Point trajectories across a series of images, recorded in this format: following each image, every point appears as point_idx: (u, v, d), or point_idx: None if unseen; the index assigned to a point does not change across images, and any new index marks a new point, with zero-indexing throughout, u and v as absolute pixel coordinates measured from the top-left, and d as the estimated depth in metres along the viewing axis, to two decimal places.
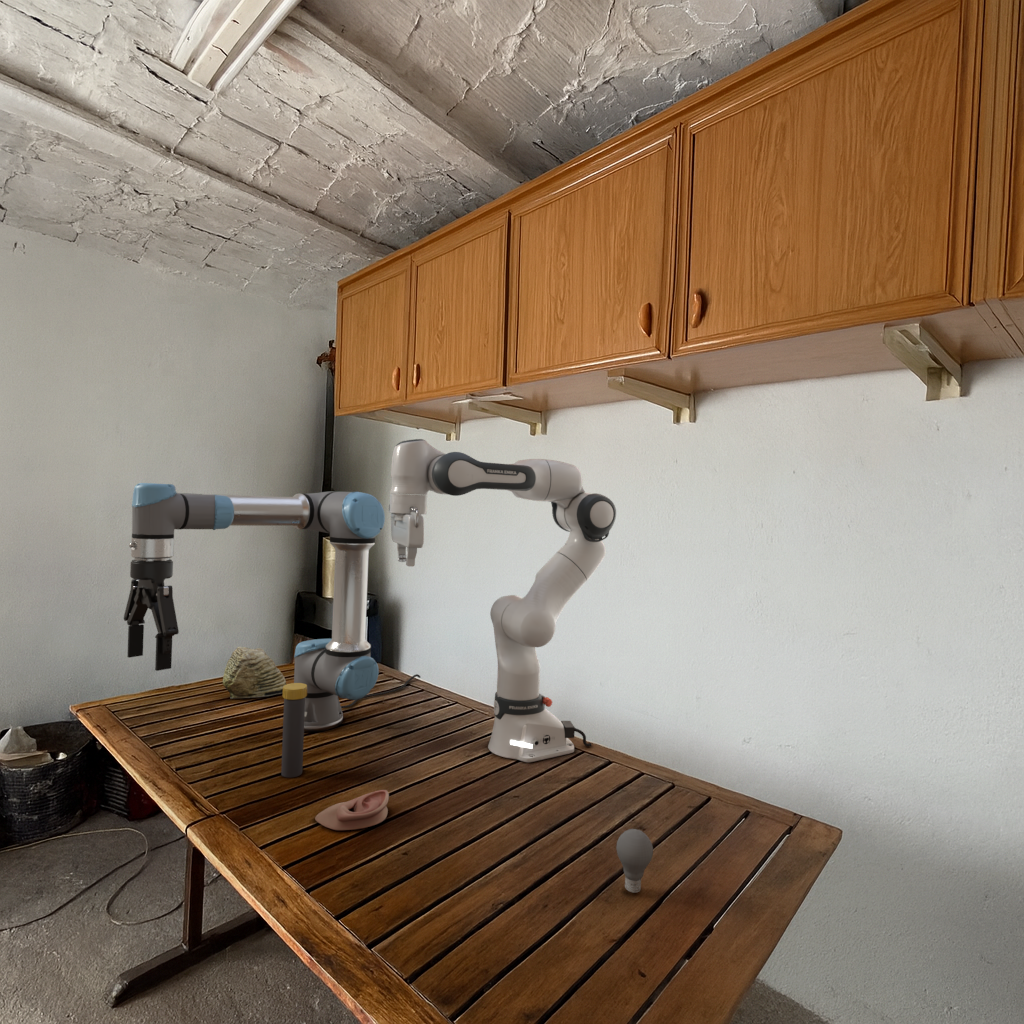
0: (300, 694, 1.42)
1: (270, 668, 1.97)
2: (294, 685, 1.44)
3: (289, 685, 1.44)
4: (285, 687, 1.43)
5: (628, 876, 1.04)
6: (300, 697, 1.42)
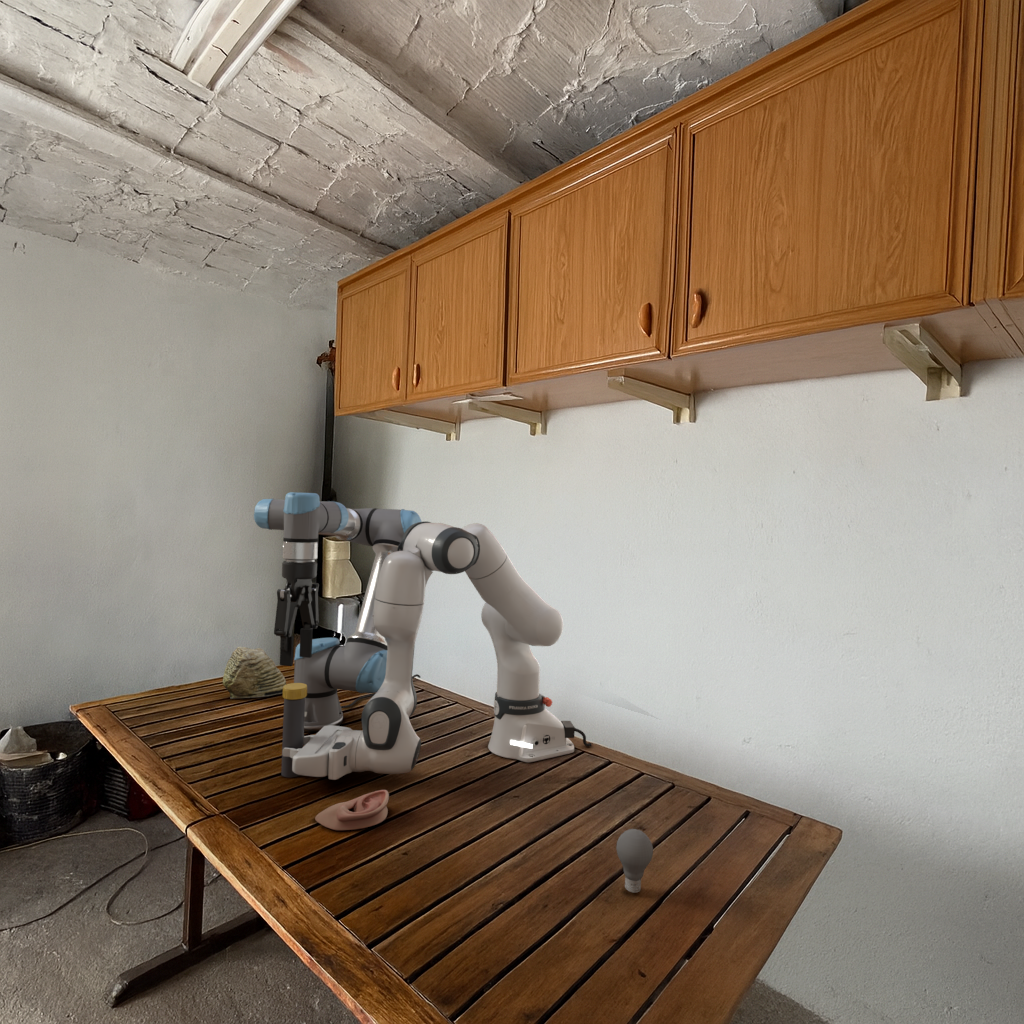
0: (300, 694, 1.42)
1: (270, 668, 1.97)
2: (294, 685, 1.44)
3: (289, 685, 1.44)
4: (285, 687, 1.43)
5: (628, 876, 1.04)
6: (300, 697, 1.42)
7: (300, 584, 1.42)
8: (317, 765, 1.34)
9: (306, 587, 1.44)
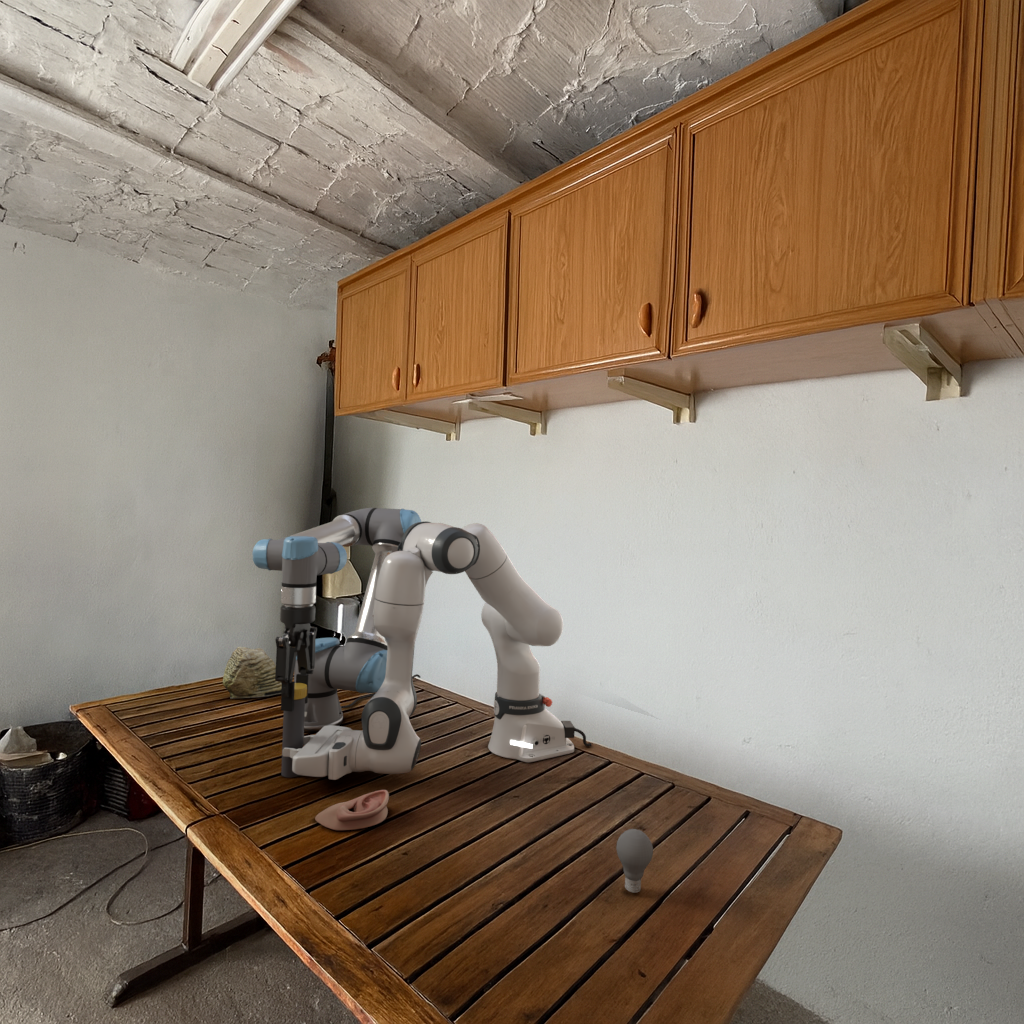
0: (300, 694, 1.42)
1: (270, 668, 1.97)
2: None
3: None
4: None
5: (628, 876, 1.04)
6: (300, 697, 1.42)
7: (298, 629, 1.42)
8: (317, 765, 1.34)
9: (304, 631, 1.44)
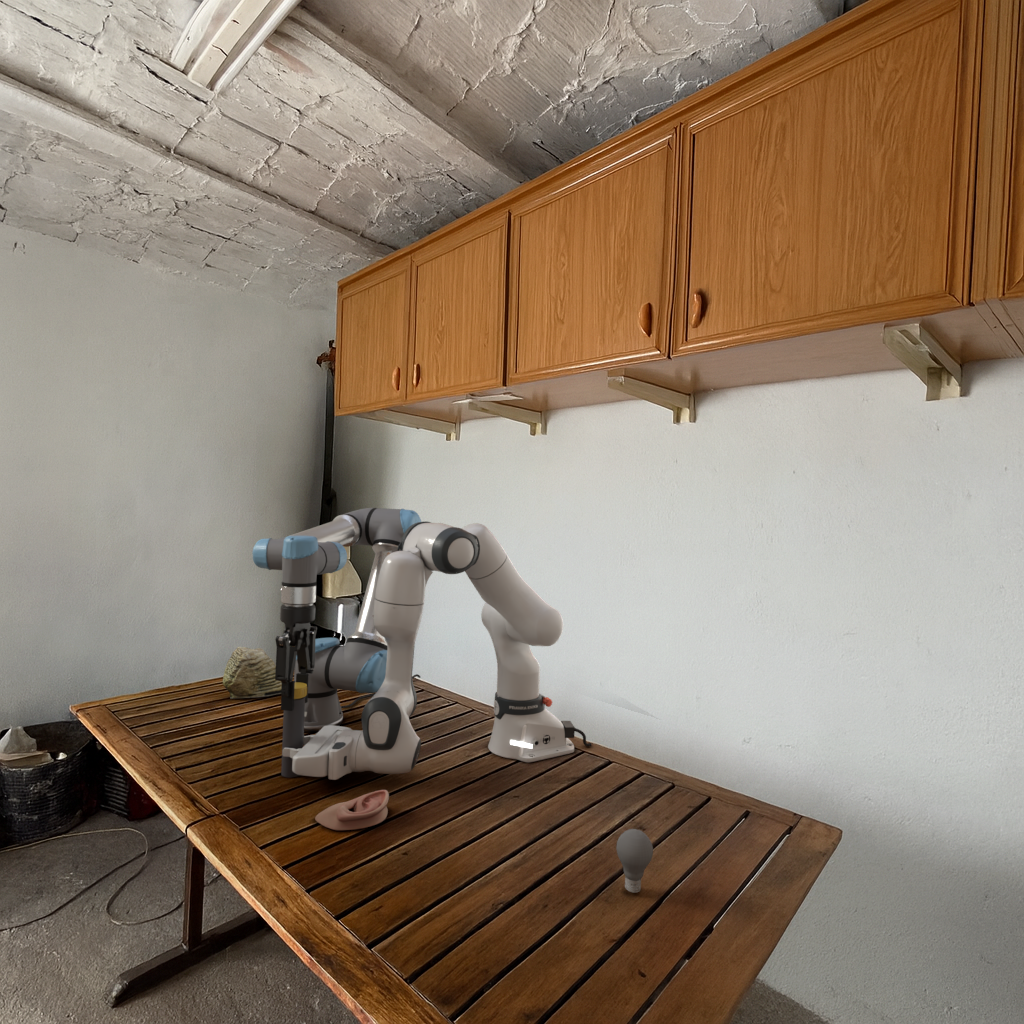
0: None
1: (270, 668, 1.97)
2: None
3: None
4: (297, 688, 1.42)
5: (628, 876, 1.04)
6: None
7: (298, 628, 1.42)
8: (317, 765, 1.34)
9: (304, 630, 1.44)
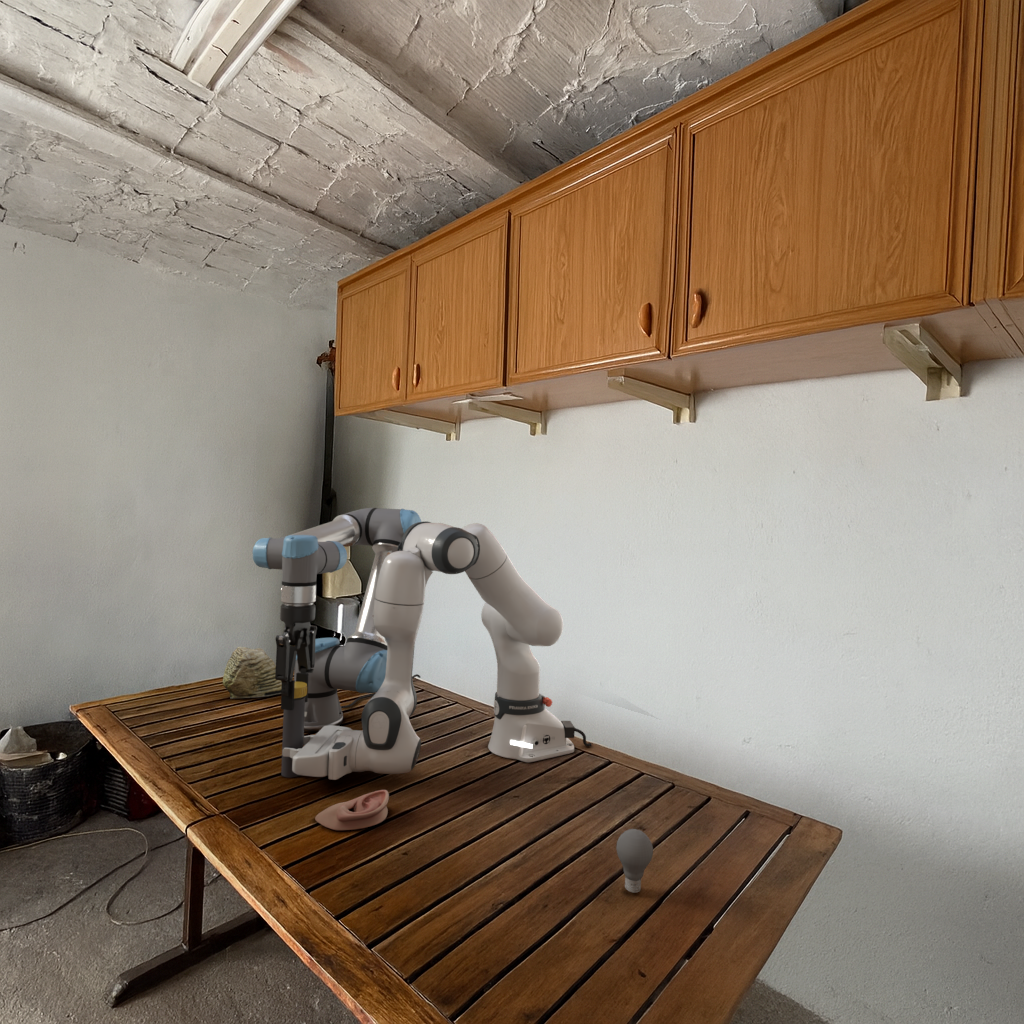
0: None
1: (270, 668, 1.97)
2: (295, 685, 1.43)
3: (300, 685, 1.44)
4: (304, 683, 1.45)
5: (628, 876, 1.04)
6: None
7: (298, 628, 1.42)
8: (317, 765, 1.34)
9: (304, 630, 1.44)
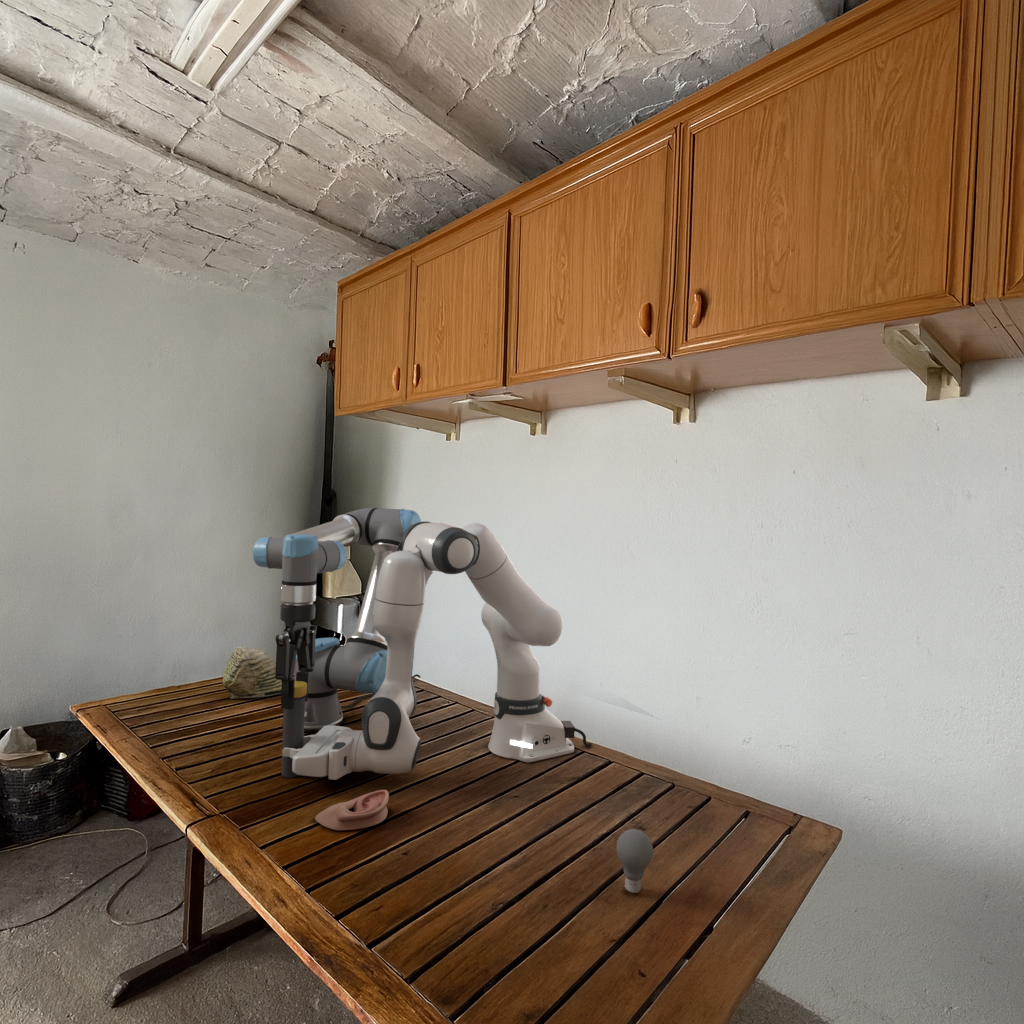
0: None
1: (270, 668, 1.97)
2: (297, 683, 1.44)
3: (299, 682, 1.45)
4: None
5: (628, 876, 1.04)
6: None
7: (298, 627, 1.42)
8: (317, 765, 1.34)
9: (304, 629, 1.44)
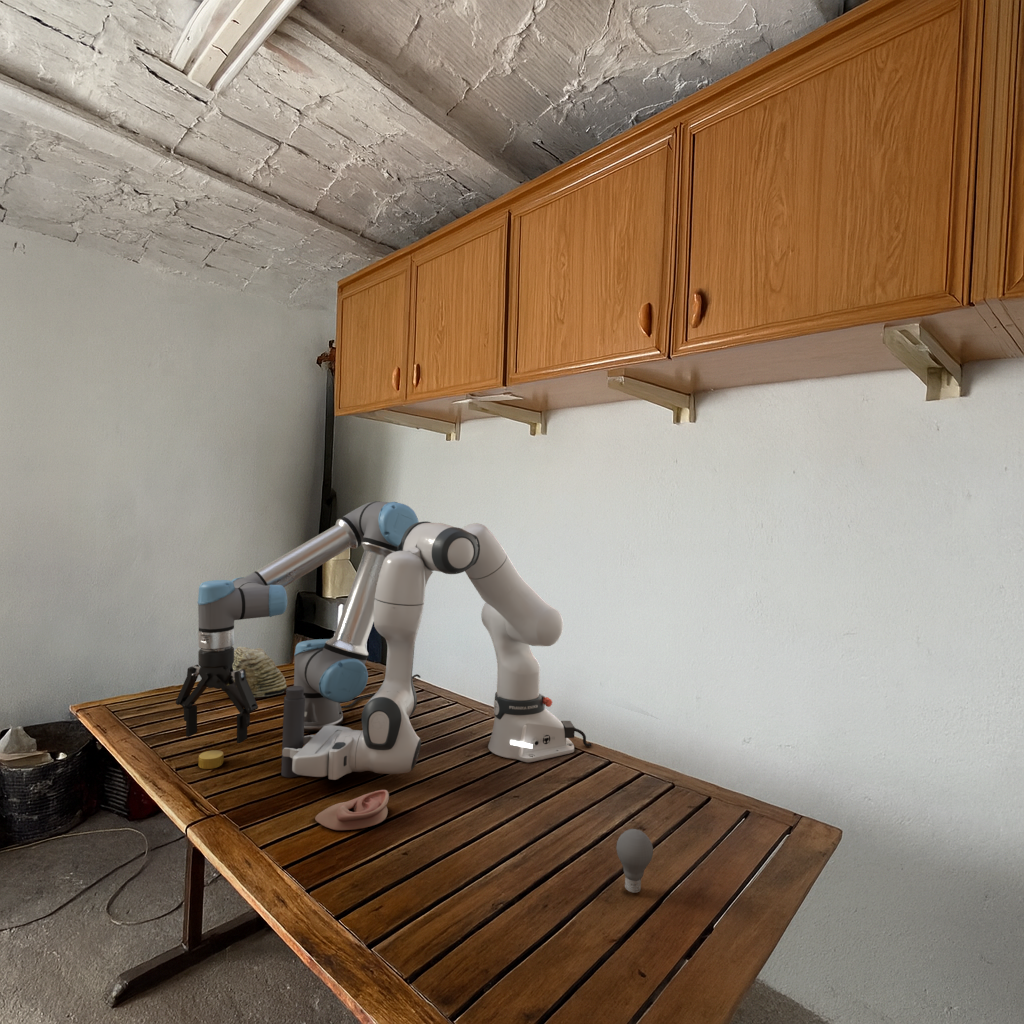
0: (214, 763, 1.45)
1: (270, 668, 1.97)
2: (211, 753, 1.48)
3: (206, 753, 1.47)
4: (200, 756, 1.46)
5: (628, 876, 1.04)
6: (214, 766, 1.45)
7: None
8: (317, 765, 1.34)
9: None
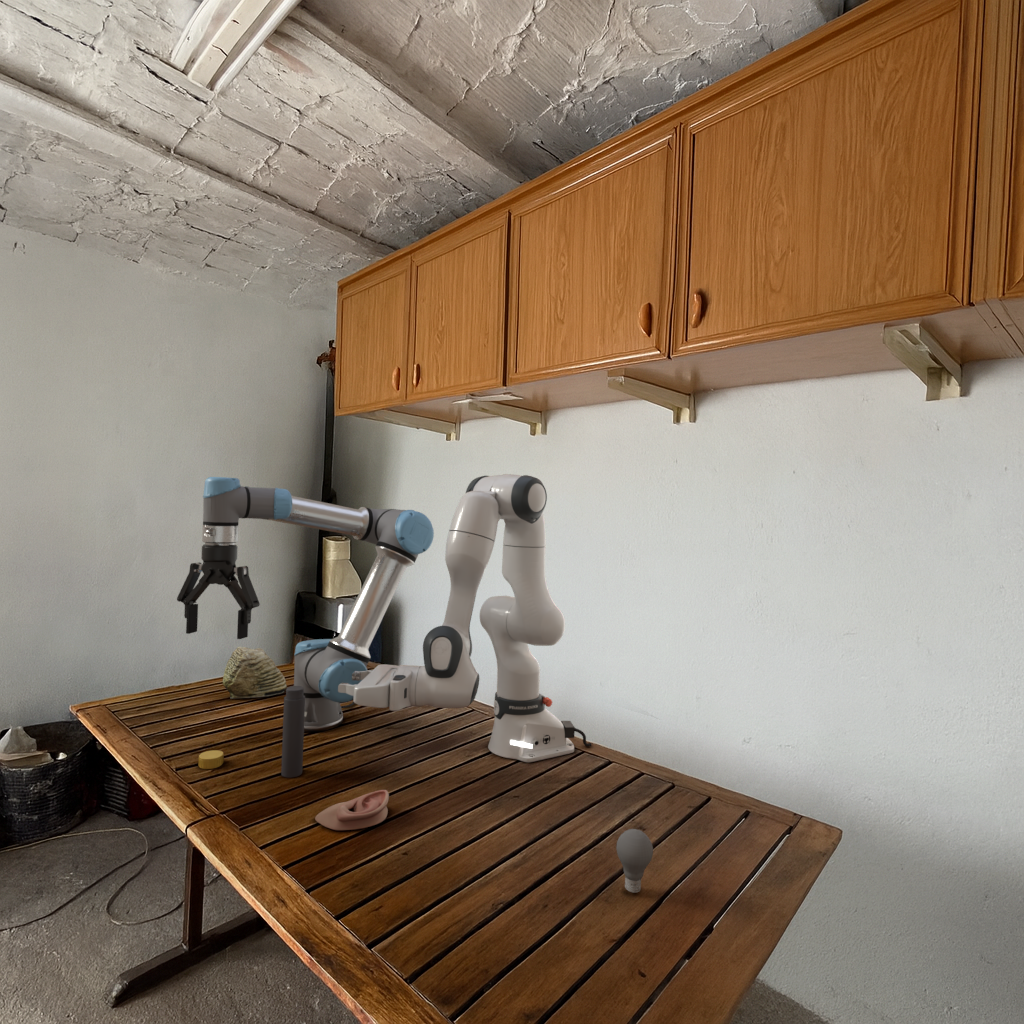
0: (214, 763, 1.45)
1: (270, 668, 1.97)
2: (211, 753, 1.48)
3: (206, 753, 1.47)
4: (200, 756, 1.46)
5: (628, 876, 1.04)
6: (214, 766, 1.45)
7: None
8: (379, 696, 1.33)
9: None
